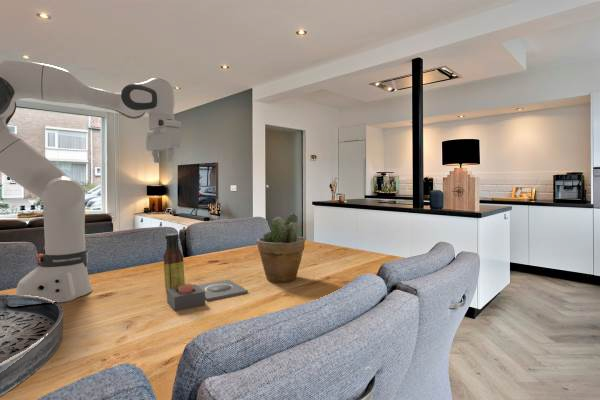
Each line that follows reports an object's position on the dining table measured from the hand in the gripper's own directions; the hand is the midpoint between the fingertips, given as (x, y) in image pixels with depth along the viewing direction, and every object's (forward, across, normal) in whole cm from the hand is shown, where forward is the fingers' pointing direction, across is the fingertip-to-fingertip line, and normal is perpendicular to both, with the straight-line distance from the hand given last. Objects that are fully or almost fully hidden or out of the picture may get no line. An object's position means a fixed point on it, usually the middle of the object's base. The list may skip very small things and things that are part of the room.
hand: (162, 162), depth 126 cm
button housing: (+45, +28, -7) cm, 53 cm away
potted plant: (+45, +30, +31) cm, 63 cm away
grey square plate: (+45, +25, +7) cm, 52 cm away
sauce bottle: (+45, +15, -4) cm, 48 cm away
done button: (+43, +28, -7) cm, 51 cm away
